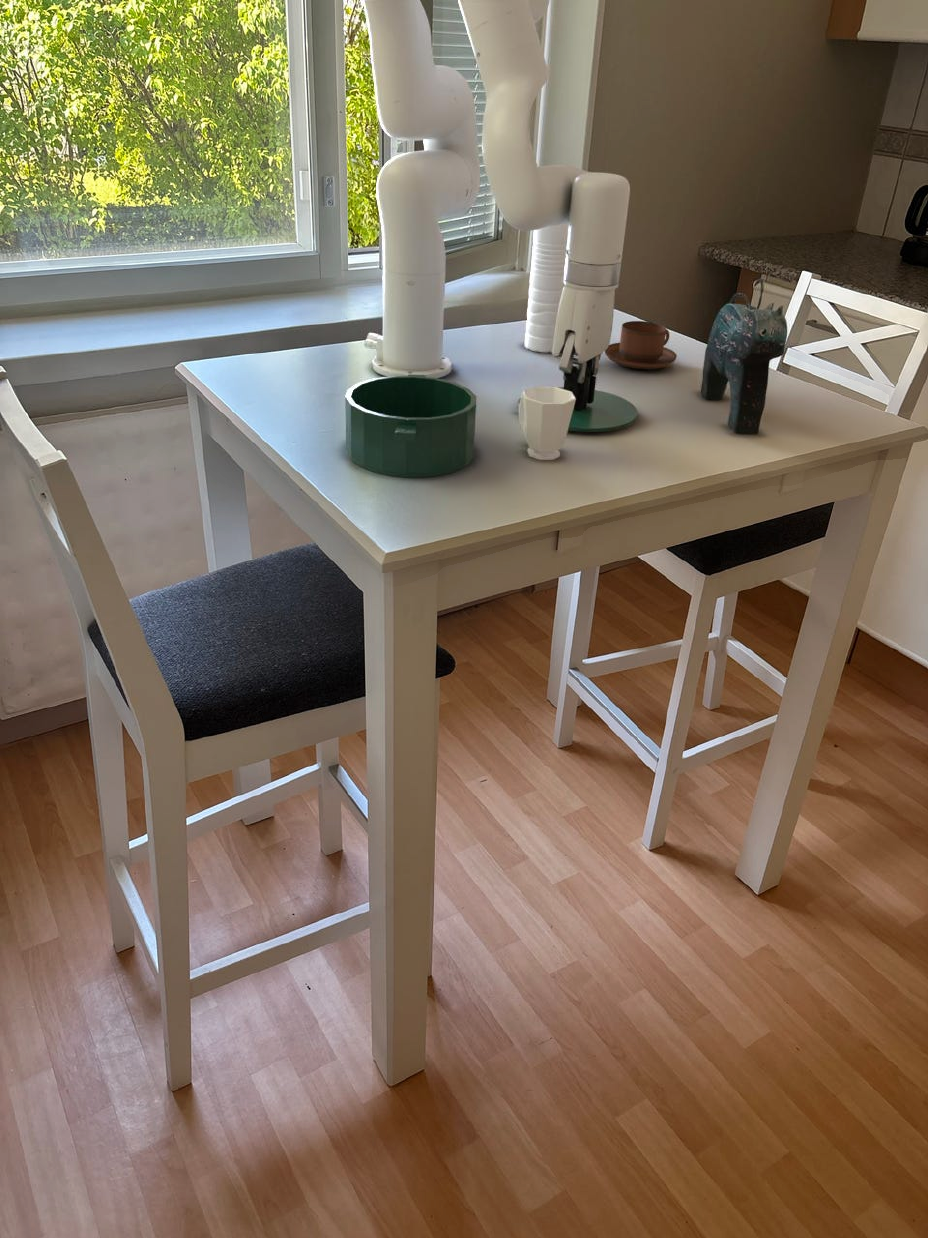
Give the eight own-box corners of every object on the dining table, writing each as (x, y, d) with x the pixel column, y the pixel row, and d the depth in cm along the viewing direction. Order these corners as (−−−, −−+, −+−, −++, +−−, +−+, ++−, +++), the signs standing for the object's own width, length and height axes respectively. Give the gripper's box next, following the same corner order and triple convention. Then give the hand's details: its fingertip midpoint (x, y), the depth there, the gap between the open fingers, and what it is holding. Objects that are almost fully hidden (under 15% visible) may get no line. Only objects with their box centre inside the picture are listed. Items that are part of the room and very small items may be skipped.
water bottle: (569, 350, 170) (585, 195, 157) (539, 355, 167) (553, 197, 153) (538, 337, 176) (551, 186, 163) (509, 341, 173) (520, 188, 160)
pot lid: (519, 432, 135) (522, 392, 132) (515, 391, 150) (518, 354, 147) (644, 439, 136) (650, 399, 133) (628, 397, 150) (633, 360, 147)
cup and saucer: (624, 348, 172) (628, 313, 169) (686, 363, 167) (692, 327, 163) (590, 363, 164) (594, 326, 161) (655, 379, 158) (661, 341, 155)
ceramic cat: (769, 439, 138) (801, 293, 127) (724, 438, 137) (753, 292, 127) (725, 392, 154) (751, 260, 144) (686, 391, 154) (708, 258, 143)
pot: (336, 482, 118) (335, 423, 114) (356, 419, 137) (356, 366, 133) (472, 489, 118) (475, 430, 114) (474, 425, 137) (477, 372, 133)
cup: (534, 467, 125) (539, 406, 121) (496, 440, 132) (500, 381, 128) (580, 459, 128) (587, 400, 124) (540, 433, 135) (546, 376, 131)
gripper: (591, 259, 140) (578, 385, 150) (539, 279, 128) (528, 414, 138) (640, 267, 137) (623, 395, 147) (592, 288, 125) (576, 426, 135)
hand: (577, 403), depth 142 cm, fingers closed on pot lid, 2 cm apart
